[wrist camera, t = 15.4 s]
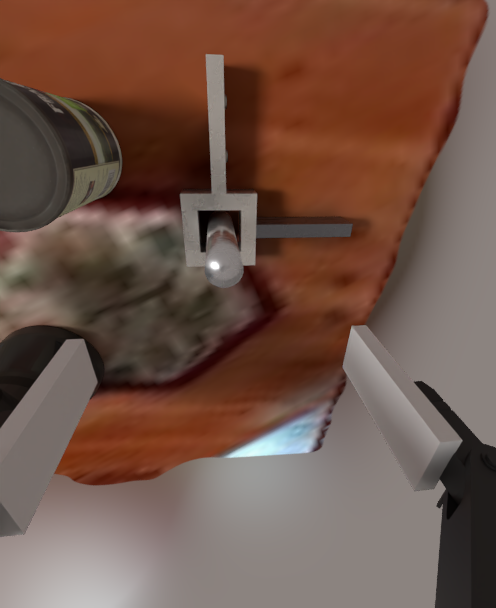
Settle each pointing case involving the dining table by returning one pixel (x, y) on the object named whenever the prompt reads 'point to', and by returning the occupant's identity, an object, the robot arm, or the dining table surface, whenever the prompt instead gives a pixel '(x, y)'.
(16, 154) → the coffee can
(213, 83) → the grey flat branched piece
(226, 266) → the pin
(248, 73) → the dining table surface
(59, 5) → the dining table surface
